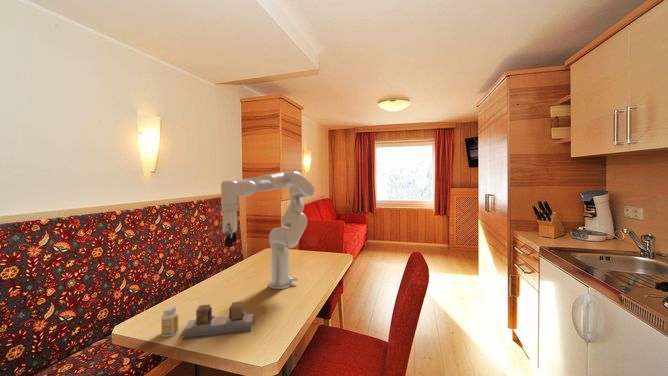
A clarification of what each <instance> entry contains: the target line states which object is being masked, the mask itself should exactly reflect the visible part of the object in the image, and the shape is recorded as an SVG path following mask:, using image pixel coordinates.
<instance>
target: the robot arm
mask: <svg viewBox="0 0 668 376" xmlns="http://www.w3.org/2000/svg"><path fill="white" fill-rule="evenodd" d="M220 185H221V186H220V193H221V194H220V196H221V199H220V200H221V201H220V202H221V212H222V234H224V235H225V236H224V247H225V248H233V246H234V243H236V242H237V240H238V239H237V238H238V237H237V229H238V213H237V212H238V211H240V196H241V197H242V196H244V197H250V196H252V195H255V193H256V192H270V191H273V190H274V191H275V190H279V189H283V188H286V187H289V188H288V191H289V192H288V193H289V195H290V203H289V205H288V206H287V209H286V210H285V212H284V213H283V215H282V217H281V220H280V224H281V226H282V227H275V228H273V229H271V230H270V232H269V234H268V241H269V245H270V246H269V247H270V255H271V257H270V259H271V261H270V263H271V264H270V265H271V271H270V272H271V281H269V283H268V288H270V289H272V290H273V289H274V290H285V289H287V288H289V287H291V286H292V285H293V282H297V281H298V280H299V279H298V276H295V275H294V276H292V275H290V251H289V249H292V248H294V247H296V246H297V244H298V243H299V242H300V239H301V237H302V236H303V233H304V232H305V230H306V228H307V227H308V226H307V225H308V217H307V215H306V214H305V213H304V212H303V211H304V210H305V203H304V198H311V197H312V196H313V195H314V194H315V186H314V185H313V183H312V182H311V181H309V179H307V178H306V177H305V176H304V175H303V174H302V173H300V172H299V171H295V170H291V171H290V170H289V171H285V170H284V171H279V172H276V173H270V174H269V173H268V174H264V175H260V176H253V177H248V178H247V177H246V178H242V179H237V180H223V181H221V183H220Z"/></svg>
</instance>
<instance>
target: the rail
mask: <svg viewBox="0 0 668 376" xmlns="http://www.w3.org/2000/svg"><path fill="white" fill-rule="evenodd" d="M228 309H229V310H228V313H229V314H228V315H227V316H219V317H218V316H217V317H216V315H212V318H211V320H210V322H209V324H200V325H196V319H193V320H192V319H191V320H190V319H189V321H188V322H187V324H186V325H185V327H184V329H183V335H182V337H181V340H183V341H184V340H190V339H191V340H192V339H198V338H199V339H200V338H209V337H216V336H224V335H232V334H233V335H234V334H241V333H248V332H249V333H250V332H252V327H253V323H254V319H255V318H254V314H253V313H247V312H244V301H235V302H234V301H233V302H232V303H231V305H230V307H229V308H228Z"/></svg>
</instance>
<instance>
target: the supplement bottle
mask: <svg viewBox="0 0 668 376" xmlns="http://www.w3.org/2000/svg"><path fill="white" fill-rule="evenodd" d="M178 332H179V312H178V311H177V306H175V305H169V306H167V307H164V308H163V314H162V315H161V336H162V337H165V338H168V337H173V336H174V335H176V334H177V333H178Z"/></svg>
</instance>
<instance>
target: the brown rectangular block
mask: <svg viewBox="0 0 668 376" xmlns="http://www.w3.org/2000/svg"><path fill="white" fill-rule="evenodd" d="M212 310H213V308H212V307H211V304H210V303H209V304H200V305H198V307H197V309H196V310H195V314H196V315H195V317H196V318H195V320H196V325H200V324H209V322H210V320H211V318H212V316H213V311H212Z"/></svg>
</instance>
